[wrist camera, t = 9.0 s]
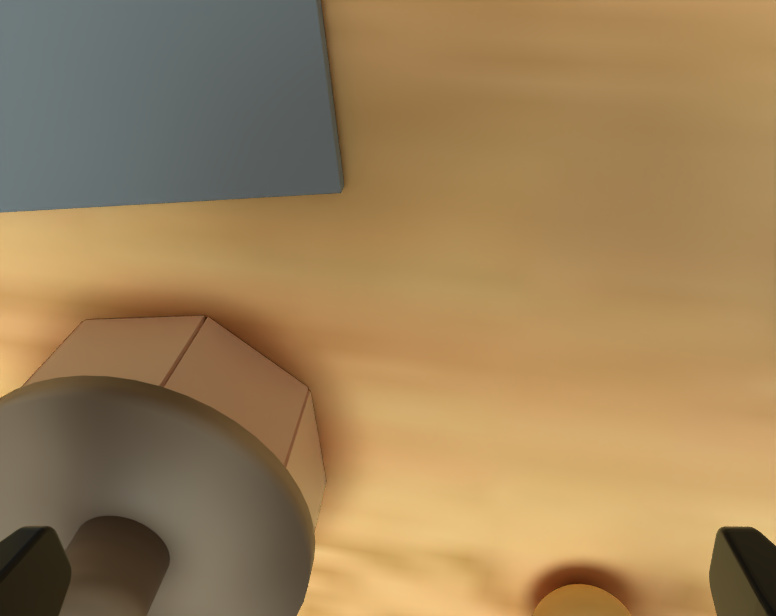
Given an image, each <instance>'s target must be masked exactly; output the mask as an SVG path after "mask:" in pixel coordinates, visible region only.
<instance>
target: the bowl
mask: <svg viewBox="0 0 776 616" xmlns="http://www.w3.org/2000/svg"><path fill="white" fill-rule="evenodd" d="M82 375H84V376H110V377H117V378H124V379H131V380H137V381H141V382H145V383H149V384H153V385H157V386H161V387H164V388H167V389H170V390H172V391H175V392H178V393H181V394H184V395H187V396H189V397H191V398H193V399H195V400H197V401H200V402H202V403H204V404H206V405H208V406H210V407H212V408H214V409H216V410H217V411H219V412H221V413H222V414H224V415H226V416H227V417H229V418H231V419H232V420H234V421H235V422H237V423H238V424H239V425H241V426H242V427H243V428H245V429H246V430H247V431H249V432H250V433H251V434H253V435H254V436H255V437H257V438H258V439H259V440H260V441H261V442H262V443H263V444H264V445H265V446H266V447H267V448H268V449H269V450H270V451H272V452H273V453H274V455H275V456H276V457H277V458H278V459H279V460H280V462H281V463H282V464H283V465H284V466H285V468H286V469H287V470H288V471H289V473H290V474H291V476H292V477H293V479H294V480H295V482H296V484H297V485H298V487H299V488H300V490H301V492H302V494H303V497H304V499H305V501H306V503H307V505H308V508H309V511H310V515H311V518H312V522H313V526H314V532H315V528H316V524H317V520H318V515H319V511H320V507H321V503H322V498H323V494H324V490H325V485H326V476H325V470H324V465H323V459H322V453H321V448H320V442H319V436H318V431H317V425H316V419H315V414H314V408H313V402H312V397H311V391H308V387H307V386H305V385H304V384H302V383H301V382H300V381H298V380H297V379H295V378H294V377H293V376H291V375H290V374H288V373H287V372H285V371H284V370H283V369H281V368H280V367H278V366H277V365H276V364H274V363H273V362H271V361H270V360H269V359H267V358H266V357H264V356H263V355H261V354H260V353H259V352H257V351H256V350H254V349H253V348H252V347H250V346H249V345H247V344H246V343H245V342H243V341H242V340H240V339H239V338H237V337H236V336H235V335H233V334H232V333H230V332H229V331H228V330H226V329H225V328H223V327H222V326H220V325H219V324H218V323H216V322H215V321H213V320H212V319H211V318H209V317H207V319H206V320H205V317H204V316H176V317H149V318H121V319H94V320H85V321H84V322H83V321H82V322H81V323H80V324H79V325H78V326H77V327H76V329H75V330H74V331H73V332H72V333H71V334H70V335H69V336H68V337H67V338H66V339H65V340H64V342H63V343H62V344H61V345H60V346H59V347H58V348H57V349H56V350H55V351H54V352H53V353H52V354H51V356H50V357H49V358H48V359H47V360H46V361H45V362H44V363H43V364H42V365H41V366H40V367H39V368H38V370H37V371H36V372H35V373H34V374H33V375H32V376H31V377H30V378H29V379H28V380H27V381H26V382H25V384H24V385H23V386H22V387H24V386H27V385H29V384H32V383H35V382H39V381H44V380H49V379H53V378H58V377H70V376H82Z"/></svg>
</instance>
